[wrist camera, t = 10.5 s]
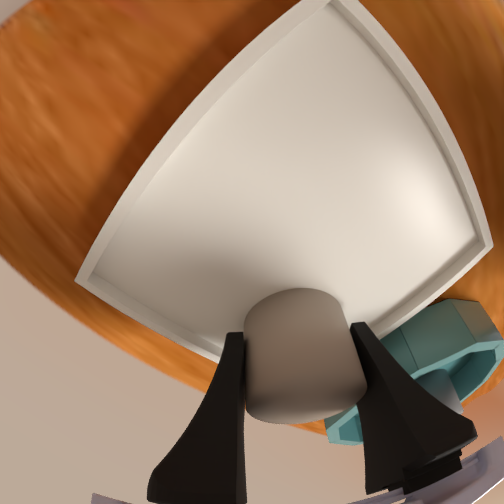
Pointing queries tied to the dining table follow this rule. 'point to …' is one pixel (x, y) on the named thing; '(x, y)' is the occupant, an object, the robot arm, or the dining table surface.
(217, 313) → the parts tray
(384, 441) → the robot arm
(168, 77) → the dining table surface
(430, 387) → the charcoal stone
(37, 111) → the dining table surface
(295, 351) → the brown stone
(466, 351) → the bowl
